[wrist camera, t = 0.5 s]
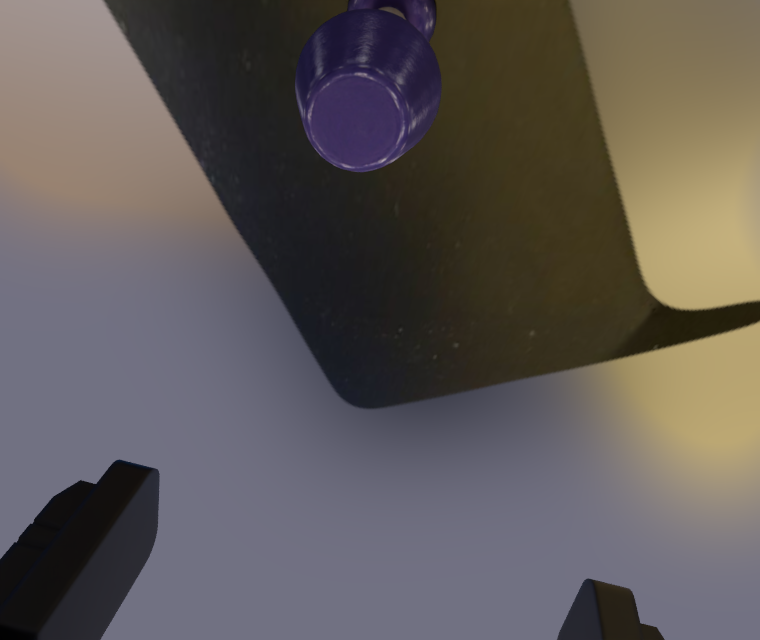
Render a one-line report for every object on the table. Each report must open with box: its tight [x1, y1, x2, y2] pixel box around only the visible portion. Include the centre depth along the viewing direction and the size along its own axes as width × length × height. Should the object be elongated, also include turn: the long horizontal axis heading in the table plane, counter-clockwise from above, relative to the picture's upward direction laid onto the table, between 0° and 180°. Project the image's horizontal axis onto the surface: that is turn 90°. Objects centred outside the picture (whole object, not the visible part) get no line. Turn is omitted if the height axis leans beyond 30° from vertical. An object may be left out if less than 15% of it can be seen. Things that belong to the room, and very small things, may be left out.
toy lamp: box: [295, 0, 441, 172], centre depth 25 cm, size 5×5×17 cm
